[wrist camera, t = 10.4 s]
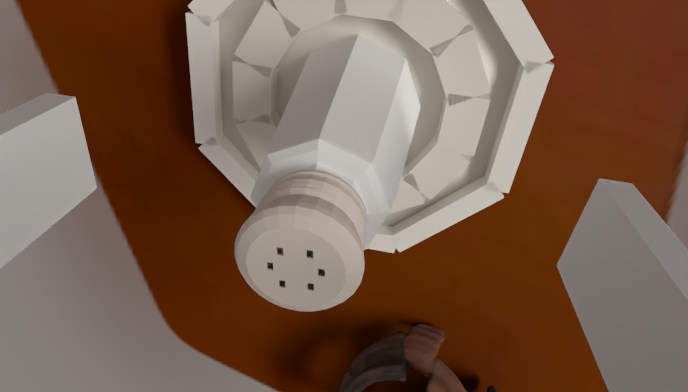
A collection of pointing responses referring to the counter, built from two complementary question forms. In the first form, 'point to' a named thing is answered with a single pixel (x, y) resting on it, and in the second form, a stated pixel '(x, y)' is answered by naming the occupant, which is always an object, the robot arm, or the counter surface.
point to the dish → (428, 77)
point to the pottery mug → (403, 362)
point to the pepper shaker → (329, 176)
